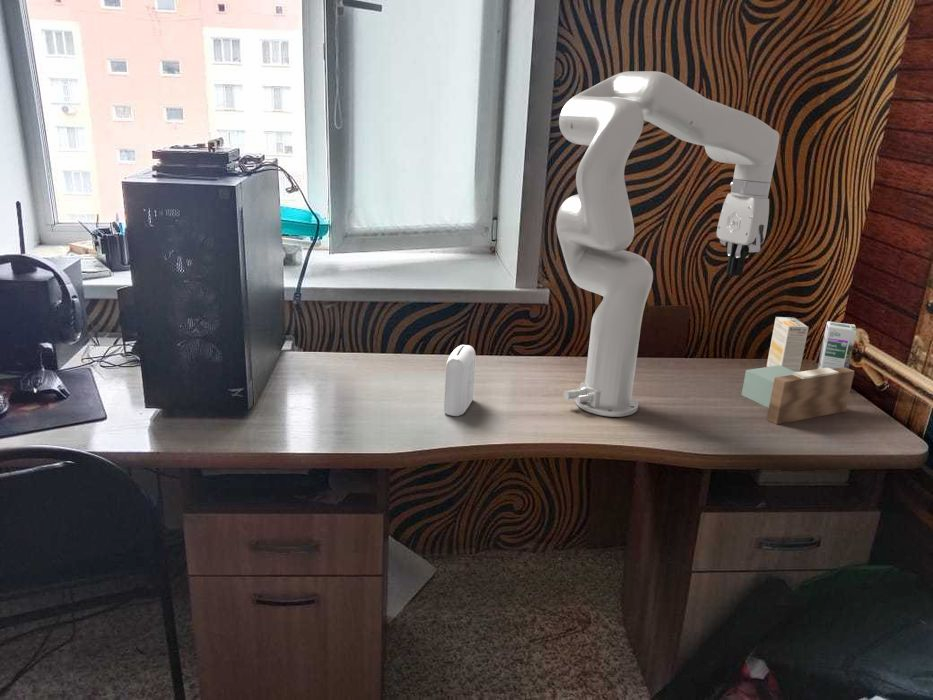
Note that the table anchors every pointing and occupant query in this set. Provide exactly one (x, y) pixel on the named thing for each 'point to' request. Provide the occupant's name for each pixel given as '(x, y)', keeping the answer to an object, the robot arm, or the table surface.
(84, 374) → the table surface
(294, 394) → the table surface
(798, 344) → the supplement box
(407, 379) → the table surface
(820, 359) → the syrup box
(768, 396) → the sage block
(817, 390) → the board
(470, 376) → the photo printer
